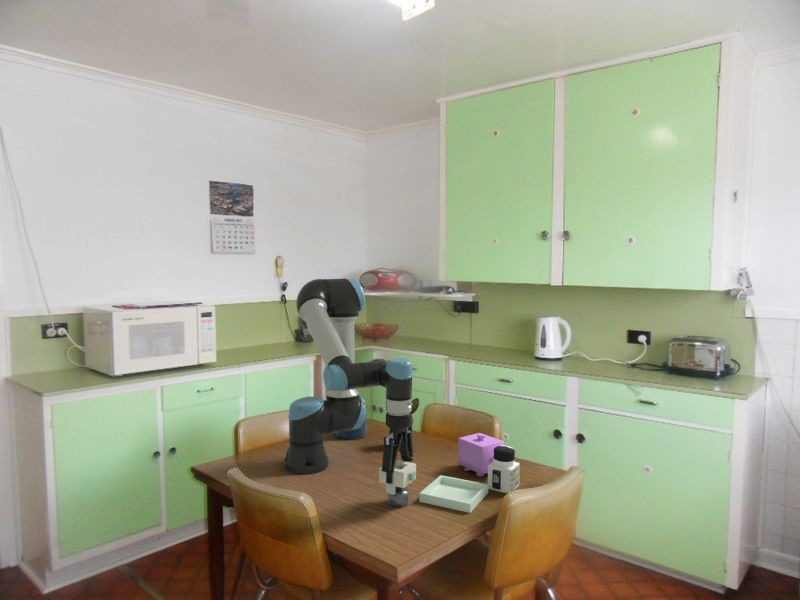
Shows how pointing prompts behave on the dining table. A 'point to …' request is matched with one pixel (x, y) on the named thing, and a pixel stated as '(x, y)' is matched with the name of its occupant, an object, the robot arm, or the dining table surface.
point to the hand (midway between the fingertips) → (397, 487)
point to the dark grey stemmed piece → (398, 496)
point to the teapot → (477, 452)
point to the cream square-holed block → (401, 474)
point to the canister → (354, 431)
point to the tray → (454, 493)
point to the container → (503, 470)
